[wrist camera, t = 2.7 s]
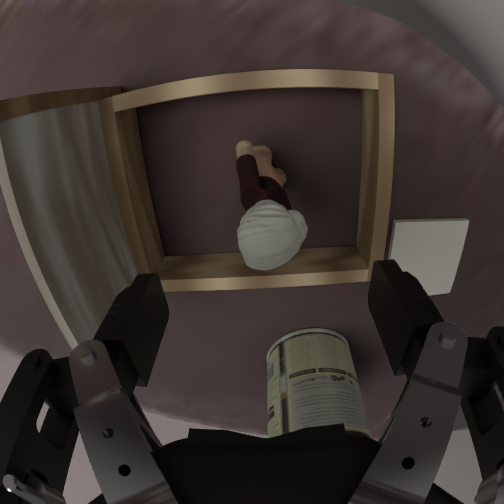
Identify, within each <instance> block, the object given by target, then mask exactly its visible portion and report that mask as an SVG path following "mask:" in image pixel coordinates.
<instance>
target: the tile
mask: <svg viewBox="0 0 504 504" xmlns="http://www.w3.org/2000/svg"><path fill="white" fill-rule="evenodd" d="M468 225H469V220H468V219H467V218H446V219H402V220H393V226H392V234H391V241H390V248H389V254H388V260H389V259H394V260H395V261H396V262H397V264H398V265H399V267H400V268H401V270H402V271H403V272H404V271H408V272H409V273H410V274H412V275H413V276H414V277H416V278H417V279H418V281H419V282H420V284H421V285H422V287H423V289H424V290H425V291H426V293H427V294H428V296H429V295H437V294H444V293H450V291H451V288H452V285H453V282H454V278H455V275H456V272H457V268H458V265H459V261H460V258H461V254H462V250H463V246H464V242H465V238H466V234H467V229H468Z"/></svg>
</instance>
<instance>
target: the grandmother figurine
mask: <svg viewBox="0 0 504 504" xmlns="http://www.w3.org/2000/svg"><path fill="white" fill-rule="evenodd" d="M236 151H237V162H236V167H237V172H238V175H239V180H240V191H241V192H240V194H241V203H242V205H243V207H244V208H245V210H246V212H245V214H244V215H243V217H242V219H241V222H240V226H239V228H238V230H237V236H238V246H239V248H240V252H241V253H242V256H243V259H244V261H245V263H246V265H247V266H249V267H251V268H253V269H256V270H270V269H274V268H276V267H278V266H280V265H282V264H284V263H286V262H287V261H289V260H290V259H291V258H292V257H293V256H294V255H295V254H296V253H297V252H298V251H299V249H300V247H301V244H302V242H303V241H304V240H305V239H306V236H307V231H308V226H307V224H306V222H305V219H304V217H303V215H302V214H301V213H300V212H298V211H297V210H292V208H291V206H290V203H289V200H288V197H287V194H286V192H285V190H284V189H283V187H282V186H283V185H284V184H285V182H286V179H287V178H286V175H285V173H284V172H283V170H281V169H279V168H273V166H271V161H272V157H273V156H272V152H271V150H270V148H268V147H267V146H252V144H251V143H250V142H249V141H247V140H243V141H240V142H239V143H238V144H237V146H236Z"/></svg>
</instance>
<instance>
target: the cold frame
mask: <svg viewBox="0 0 504 504" xmlns="http://www.w3.org/2000/svg"><path fill="white" fill-rule="evenodd" d="M285 88H341V89H360V92H361V182H360V203H359V218H358V231H357V243H356V246H341V247H323V248H305V249H299V251H298V252H297V253H296V254H295V255H294V256H293V257H292V258H291V259H290V260H289V261H287V262H286V263H284V264H282V265H280V266H278V267H276V268H274V269H270V270H256V269H253V268H251V267H249V266H247V265H246V263H245V261H244V259H243V256H242V253H241V252H234V253H216V254H199V255H181V256H165V255H164V251H163V247H162V243H161V239H160V235H159V230H158V226H157V222H156V217H155V213H154V208H153V203H152V199H151V194H150V189H149V184H148V179H147V174H146V168H145V163H144V157H143V152H142V146H141V140H140V134H139V127H138V121H137V114H136V108H138V107H143V106H147V105H152V104H157V103H162V102H167V101H173V100H178V99H184V98H191V97H197V96H204V95H212V94H220V93H229V92H239V91H250V90H264V89H285ZM394 134H395V99H394V75H392V74H383V73H374V72H362V71H348V70H322V69H293V70H267V71H252V72H240V73H231V74H222V75H214V76H206V77H200V78H193V79H187V80H181V81H176V82H171V83H166V84H161V85H156V86H151V87H147V88H143V89H138V90H134V91H130V92H127V93H123V94H122V92H121V87H98V88H83V89H72V90H63V91H54V92H46V93H39V94H33V95H27V96H21V97H16V98H11V99H6V100H1V101H0V184H1V187H2V191H3V195H4V198H5V201H6V205H7V208H8V211H9V214H10V217H11V220H12V223H13V226H14V229H15V232H16V235H17V237H18V240H19V243H20V245H21V248H22V250H23V253H24V255H25V258H26V260H27V263H28V265H29V267H30V270H31V272H32V274H33V276H34V279H35V281H36V283H37V285H38V287H39V289H40V291H41V293H42V295H43V297H44V299H45V301H46V303H47V305H48V307H49V309H50V311H51V313H52V315H53V317H54V319H55V321H56V322H57V324H58V326H59V328H60V329H61V331H62V333H63V335H64V336H65V338H66V340H67V342H68V343H69V345H70V346H71V348H72V350H73V349H74V348H75V347H76V346H77V345H79V344H80V343H82V342H84V341H87V340H93V338H94V336H95V334H96V332H97V330H98V328H99V327H100V325H101V323H102V321H103V319H104V317H105V316H106V314H108V310H109V309H110V307H111V306H112V303H113V302H114V300H115V298H116V296H117V295H118V294H119V293H120V292H121V291H123V290H124V289H125V288H126V287H130V286H131V284H132V282H133V280H134V279H135V277H136V275H137V274H147V273H157V274H158V275H159V278H160V281H161V284H162V287H163V291H164V292H170V291H206V290H232V289H255V288H274V287H292V286H308V285H323V284H337V283H351V282H363V281H370V280H371V274H372V267H373V263H374V261H376V260H383V258H384V251H385V244H386V237H387V229H388V221H389V212H390V202H391V191H392V178H393V162H394Z"/></svg>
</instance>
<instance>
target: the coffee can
mask: <svg viewBox="0 0 504 504" xmlns="http://www.w3.org/2000/svg"><path fill="white" fill-rule="evenodd" d="M267 367H268V438H271V437H275V436H278V435H282V434H286V433H289V432H292V431H296V430H299V429H302V428H306V427H315V426H324V425H332V424H340V423H344V426H345V432H346V433H354V434H359V435H362V436H366V437H368V438H371V435H370V430H369V426H368V421H367V417H366V413H365V409H364V404H363V400H362V396H361V392H360V388H359V384H358V380H357V376H356V372H355V368H354V365H353V361H352V357H351V353H350V347H349V344H348V342H347V340H346V339H345V338H344V337H343V336H342V335H341V334H339V333H337V332H335V331H333V330H329V329H325V328H307V329H301V330H297V331H294V332H291V333H289V334H286V335H285V336H283V337H281V338H280V339H278V340H277V341H276V342H275V343H274V344H273V345H272V346H271V348H270V349H269V351H268V354H267Z"/></svg>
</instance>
